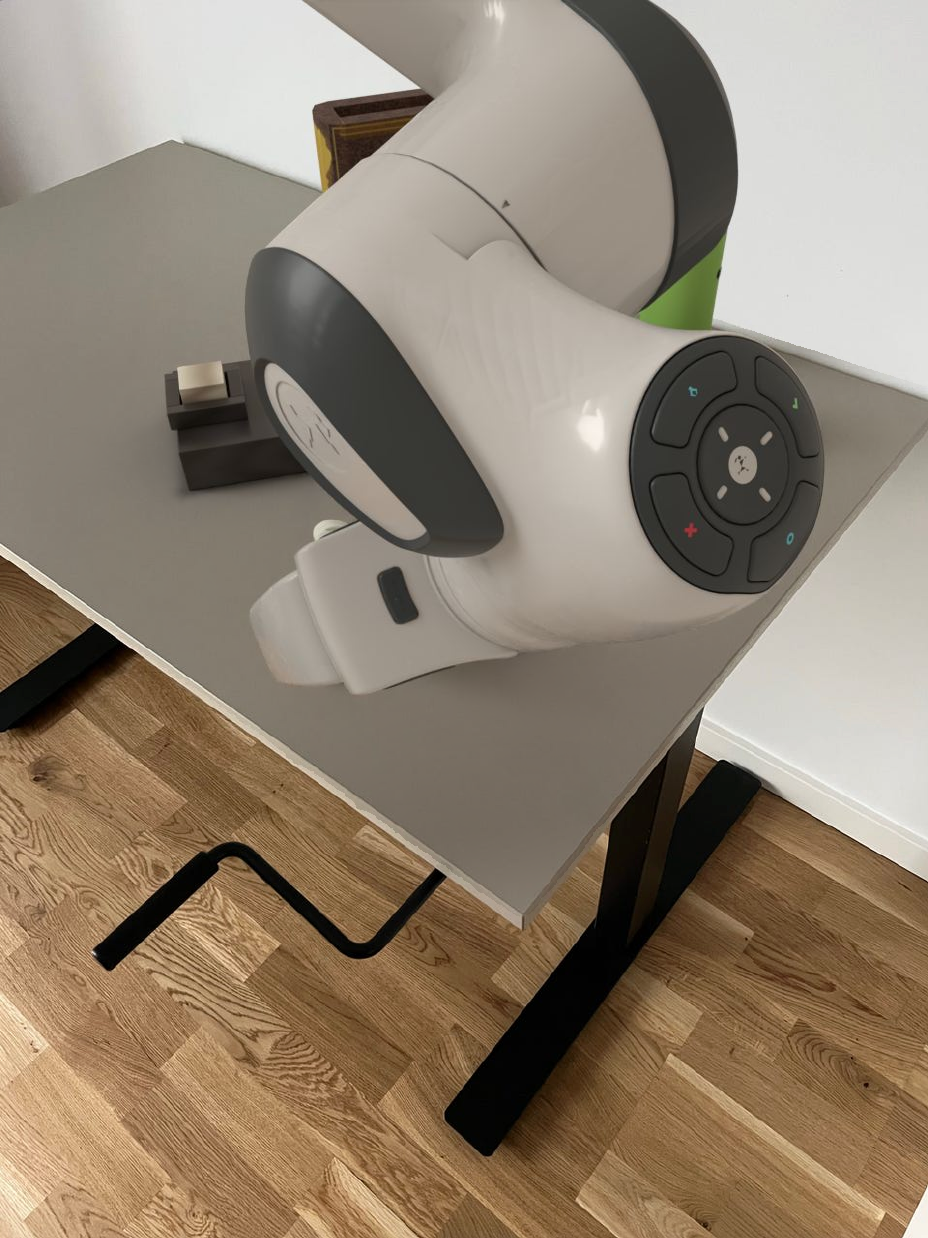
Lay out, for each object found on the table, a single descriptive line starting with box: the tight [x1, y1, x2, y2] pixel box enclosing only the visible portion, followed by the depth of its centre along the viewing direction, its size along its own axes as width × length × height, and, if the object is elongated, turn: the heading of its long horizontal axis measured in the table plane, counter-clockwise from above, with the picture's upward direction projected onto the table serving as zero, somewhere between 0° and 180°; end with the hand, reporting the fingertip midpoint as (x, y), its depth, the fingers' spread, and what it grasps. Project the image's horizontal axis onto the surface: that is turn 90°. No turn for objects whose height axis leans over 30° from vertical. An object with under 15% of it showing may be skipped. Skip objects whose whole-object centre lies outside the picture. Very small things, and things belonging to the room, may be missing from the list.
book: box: [311, 87, 434, 195], centre depth 96 cm, size 22×8×25 cm, turn 109°
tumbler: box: [638, 227, 729, 330], centre depth 97 cm, size 8×8×17 cm
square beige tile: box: [177, 360, 228, 405], centre depth 90 cm, size 4×4×2 cm
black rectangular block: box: [164, 359, 307, 491], centre depth 92 cm, size 12×14×6 cm
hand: (417, 582), depth 54 cm, fingers open, 3 cm apart
